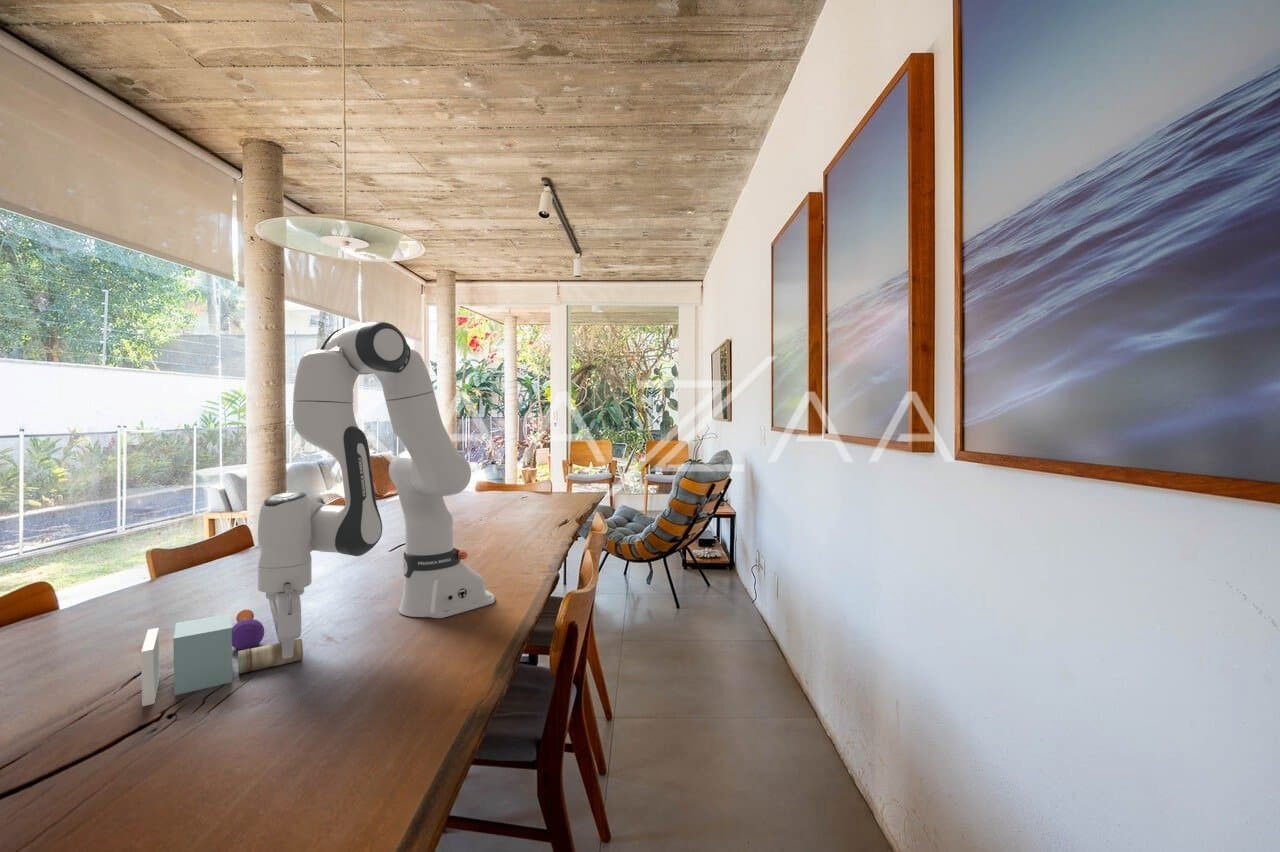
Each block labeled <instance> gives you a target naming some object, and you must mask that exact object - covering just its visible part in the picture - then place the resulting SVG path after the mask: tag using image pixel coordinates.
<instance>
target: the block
mask: <svg viewBox="0 0 1280 852" xmlns="http://www.w3.org/2000/svg"><path fill="white" fill-rule="evenodd" d="M231 616H232V615H231V613H225V614H220V615H215V616H209V617H203V618H196V619H191V620H186V621H179V622H176V623H175V627H174V633H173V638H172V639H173V677H174V678H173V682H174V683H173V685H174V686H173V687H174V688H173V691H174V695H173V696H178V695H183V694H188V693H191V692H195V691H200V690H204V689H209V688H213V687H217V686H221V685H227V684H231V683H233V646H232V628H233V626H232V617H231Z"/></svg>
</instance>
